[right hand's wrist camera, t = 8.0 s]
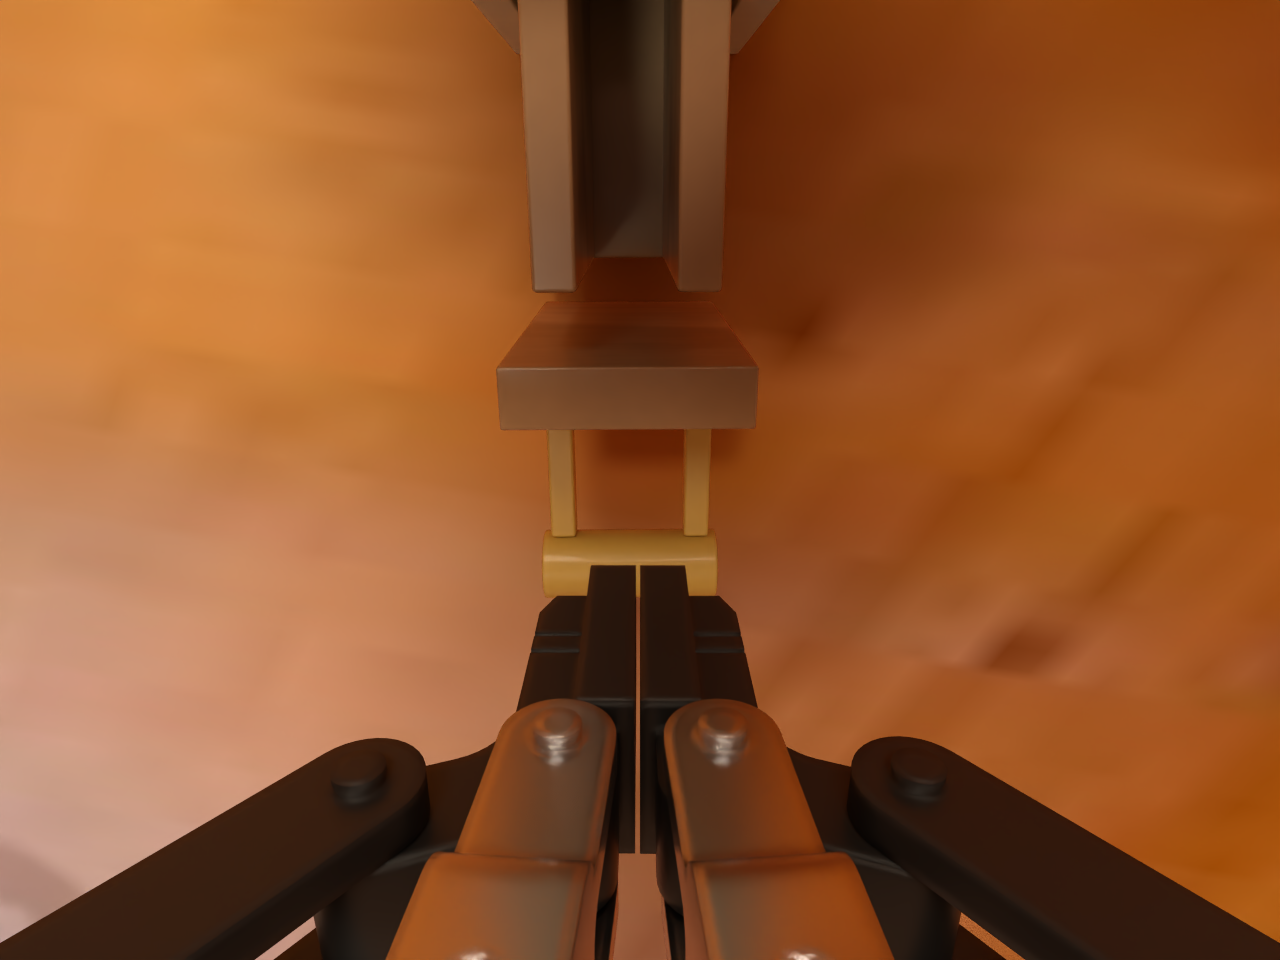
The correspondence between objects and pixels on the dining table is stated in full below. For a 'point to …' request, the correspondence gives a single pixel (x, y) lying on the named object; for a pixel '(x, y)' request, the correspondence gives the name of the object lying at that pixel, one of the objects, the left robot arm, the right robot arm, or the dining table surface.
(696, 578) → the drawer
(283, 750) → the dining table surface
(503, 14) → the grey rectangular box
